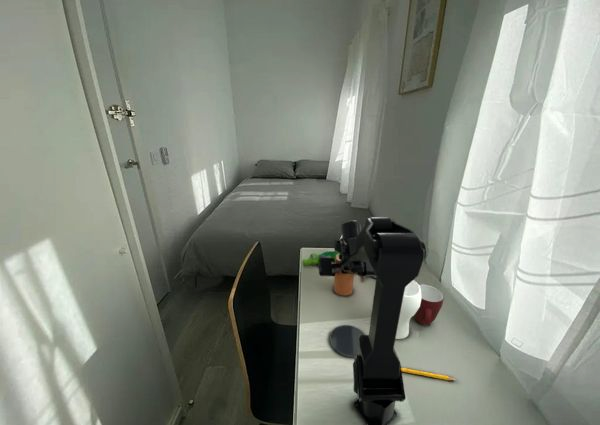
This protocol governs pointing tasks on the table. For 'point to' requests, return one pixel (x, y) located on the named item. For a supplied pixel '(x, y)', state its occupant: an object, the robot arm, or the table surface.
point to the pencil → (426, 374)
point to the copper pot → (342, 281)
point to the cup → (408, 308)
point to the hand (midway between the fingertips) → (343, 271)
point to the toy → (315, 258)
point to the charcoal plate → (346, 340)
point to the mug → (429, 304)
